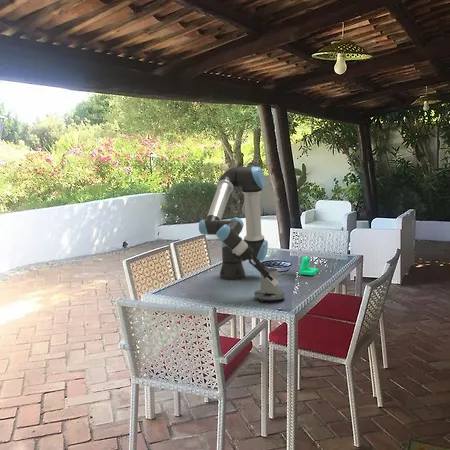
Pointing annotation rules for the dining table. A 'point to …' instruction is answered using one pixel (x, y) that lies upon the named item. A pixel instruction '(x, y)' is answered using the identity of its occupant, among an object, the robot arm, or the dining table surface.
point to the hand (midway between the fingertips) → (276, 282)
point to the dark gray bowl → (269, 295)
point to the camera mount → (307, 267)
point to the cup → (266, 284)
